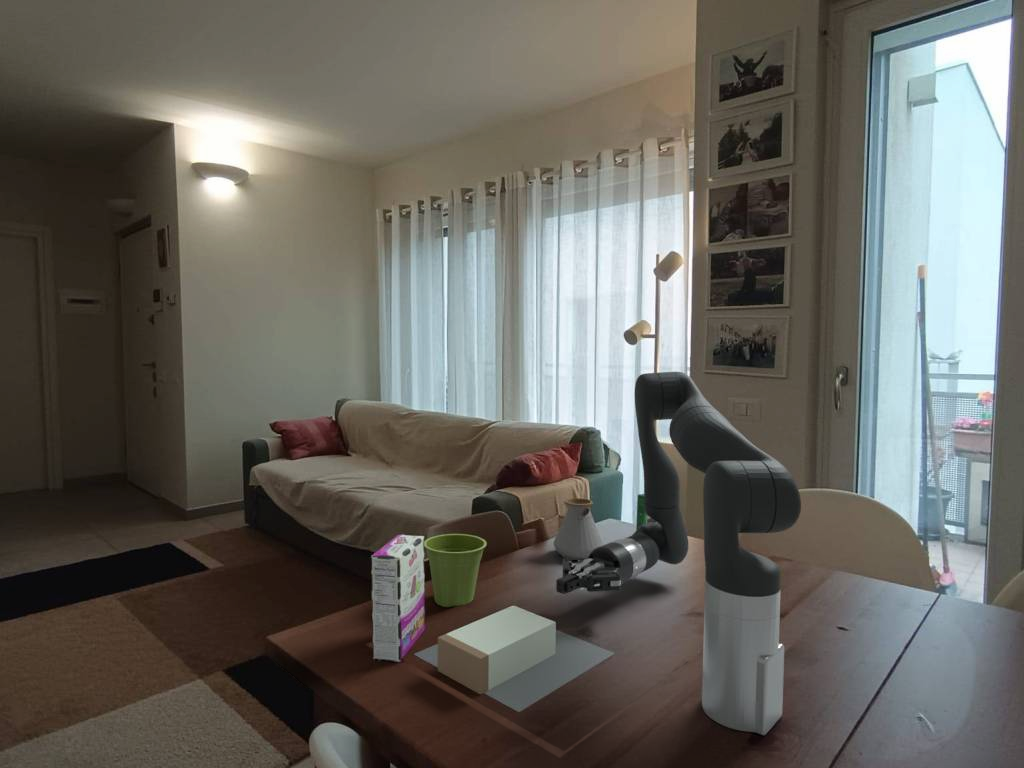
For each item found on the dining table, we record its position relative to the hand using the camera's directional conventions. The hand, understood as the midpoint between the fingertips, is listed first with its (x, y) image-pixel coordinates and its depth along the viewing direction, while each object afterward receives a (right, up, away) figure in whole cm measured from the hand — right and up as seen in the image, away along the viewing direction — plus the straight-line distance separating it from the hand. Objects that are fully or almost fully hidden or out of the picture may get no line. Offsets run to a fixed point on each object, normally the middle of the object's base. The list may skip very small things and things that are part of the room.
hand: (560, 587), depth 103 cm
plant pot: (-19, -7, +14) cm, 25 cm away
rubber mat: (-8, -8, -8) cm, 14 cm away
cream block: (-5, -5, -5) cm, 8 cm away
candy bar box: (-26, -8, -4) cm, 28 cm away
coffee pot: (+7, -6, +36) cm, 37 cm away
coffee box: (+26, -6, +48) cm, 55 cm away
